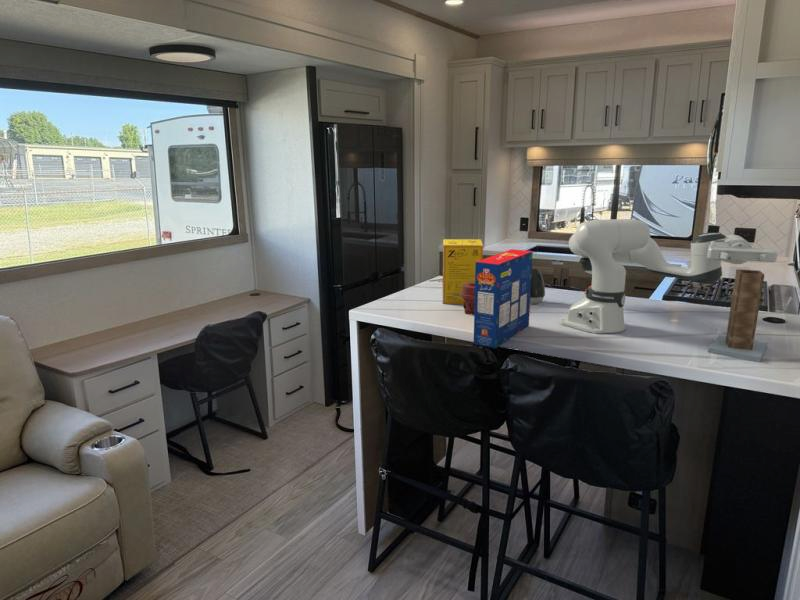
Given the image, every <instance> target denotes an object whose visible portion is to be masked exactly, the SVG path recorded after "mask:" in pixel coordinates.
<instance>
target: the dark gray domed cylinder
mask: <svg viewBox="0 0 800 600" xmlns="http://www.w3.org/2000/svg"><path fill="white" fill-rule="evenodd" d="M544 281H545V280H544V278H543V274H542V272H541V271H540V269H539V268H538V267H534V266H532V273H531V293H530V305H538V304H539V303H541V302H542V301H543V300H544V298H545V296H546V288H545V283H544Z"/></svg>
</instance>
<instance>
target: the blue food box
mask: <svg viewBox="0 0 800 600" xmlns="http://www.w3.org/2000/svg"><path fill="white" fill-rule="evenodd" d="M533 253H534V252H533V250H526V249H525V250H523V249H515V248H514V249H512V248H511V249H509V250H505V251H503V252H499V253H497V254H494V255H491V256H488V257H486V258H483V259H482V260H480V261H477V262H476V266H475V306H474V314H473V316H474V319H473V320H474V321H473V344H474V345H477V346H483V347H487V348H492V349H496V348H498V347H499V346H502V345H503V344H505V343H506V342H507V341H508V340H511V339H512V338H513V337H515V336H516V335H518V334H520V333H521V332H522V331H523V332H524V330H525V329H527V328H529V326H530V313H531V312H530V310H531V309H530V308H531V306H530V305H531V304H530V293H531V273H532V267H533Z"/></svg>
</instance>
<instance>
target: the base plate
mask: <svg viewBox="0 0 800 600" xmlns="http://www.w3.org/2000/svg"><path fill="white" fill-rule="evenodd" d="M707 349H708V350H707V353H709V354H714V355H721V356H725V357H731V358H736V359H740V358H741V359H740V360H745V359H747V360H746V361H751V360H752V362H756V361H757V362H756V363H760V362H761V361H762V358H763V357H764V354H765V353H766V352H767V349H768V343H767V342H762V341H756V340H754V342H753V348H752V350H747V349H737V348H729V347H728V345H727V343H726V335H722V334H718V335H717V337H716V338H715V339H714V340H713V342H712V343H711V344H710V345H709V346H708V348H707Z"/></svg>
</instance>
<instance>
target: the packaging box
mask: <svg viewBox="0 0 800 600" xmlns="http://www.w3.org/2000/svg"><path fill="white" fill-rule="evenodd" d="M483 252H484V244H483V242H482V239H474V238H473V239H458V238H455V239H450V238H449V239H448V238H447V239H443V243H442V304H443V305H445V304H446V305H450V304H451V305H453V304H454V305H464V299H463V298H461V297H460V292H462V285H463V284H465V283H468V282H475V266H476V262H477V261H480V260H482V259H484V258H483Z"/></svg>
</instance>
